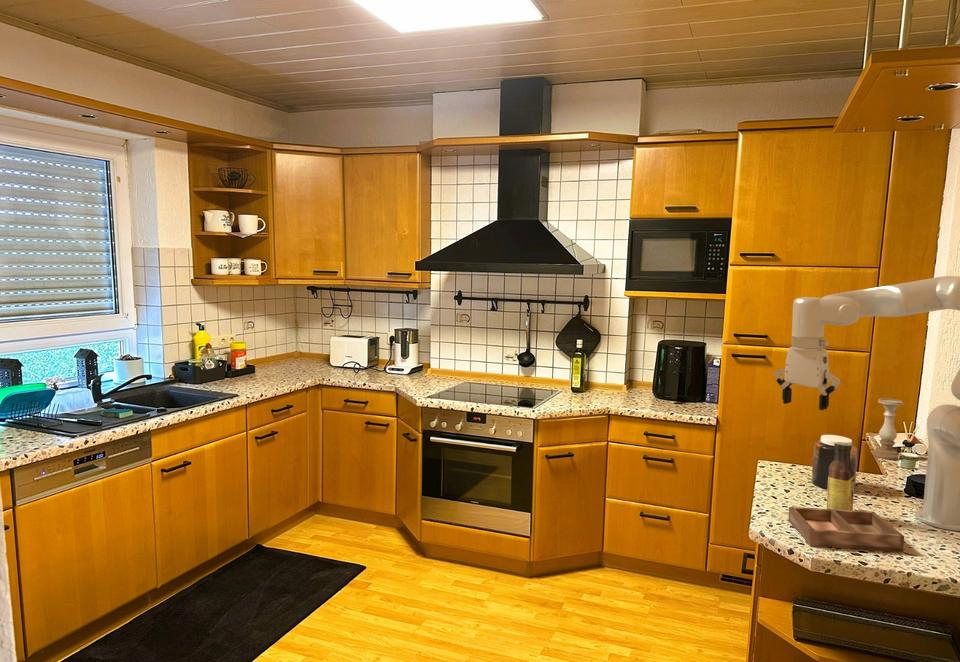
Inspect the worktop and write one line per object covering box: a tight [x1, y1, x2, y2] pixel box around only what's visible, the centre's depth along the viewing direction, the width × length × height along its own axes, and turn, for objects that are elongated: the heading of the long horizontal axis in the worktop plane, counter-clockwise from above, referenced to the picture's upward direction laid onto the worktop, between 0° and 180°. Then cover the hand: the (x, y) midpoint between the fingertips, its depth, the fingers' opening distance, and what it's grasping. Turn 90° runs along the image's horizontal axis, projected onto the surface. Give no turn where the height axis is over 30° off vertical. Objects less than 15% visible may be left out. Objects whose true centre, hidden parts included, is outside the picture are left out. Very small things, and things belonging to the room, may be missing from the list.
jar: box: [811, 434, 858, 491], centre depth 195 cm, size 12×12×15 cm
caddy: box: [787, 506, 905, 553], centre depth 159 cm, size 21×15×4 cm
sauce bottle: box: [826, 442, 855, 510], centre depth 172 cm, size 7×6×20 cm
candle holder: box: [871, 398, 904, 460], centre depth 225 cm, size 9×9×20 cm
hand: (804, 406), depth 171 cm, fingers open, 9 cm apart
